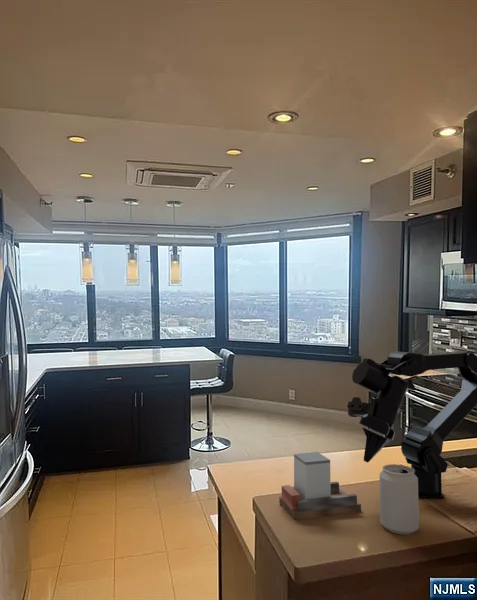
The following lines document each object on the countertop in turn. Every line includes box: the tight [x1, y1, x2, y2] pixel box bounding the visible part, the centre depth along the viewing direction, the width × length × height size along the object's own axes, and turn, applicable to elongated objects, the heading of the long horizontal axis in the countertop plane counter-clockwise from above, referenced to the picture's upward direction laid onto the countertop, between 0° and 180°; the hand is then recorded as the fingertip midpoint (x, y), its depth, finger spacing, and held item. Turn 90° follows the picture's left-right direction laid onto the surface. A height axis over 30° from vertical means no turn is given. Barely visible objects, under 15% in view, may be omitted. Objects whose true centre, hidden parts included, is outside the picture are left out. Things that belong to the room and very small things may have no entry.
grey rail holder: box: [278, 481, 362, 521], centre depth 100 cm, size 16×9×4 cm, turn 106°
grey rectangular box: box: [293, 451, 331, 500], centre depth 100 cm, size 6×6×10 cm
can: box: [379, 463, 420, 535], centre depth 90 cm, size 8×8×12 cm
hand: (365, 461), depth 104 cm, fingers closed
